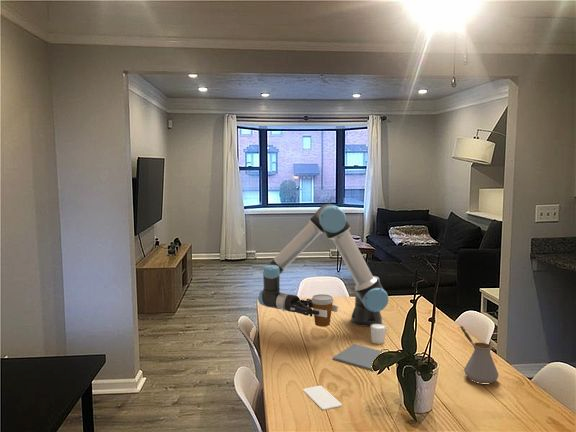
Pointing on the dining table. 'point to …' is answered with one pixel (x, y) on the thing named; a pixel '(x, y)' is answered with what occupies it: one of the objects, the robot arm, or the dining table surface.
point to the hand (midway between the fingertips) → (331, 311)
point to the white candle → (378, 333)
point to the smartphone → (322, 397)
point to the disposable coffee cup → (322, 308)
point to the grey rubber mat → (358, 356)
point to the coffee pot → (480, 363)
